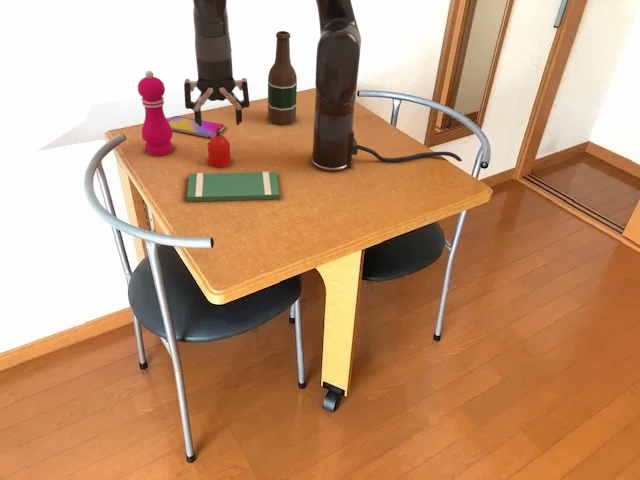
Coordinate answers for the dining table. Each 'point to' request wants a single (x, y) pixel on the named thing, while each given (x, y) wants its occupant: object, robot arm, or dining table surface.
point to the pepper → (219, 151)
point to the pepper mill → (154, 116)
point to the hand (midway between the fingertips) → (219, 124)
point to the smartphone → (194, 126)
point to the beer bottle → (282, 84)
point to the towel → (232, 186)
